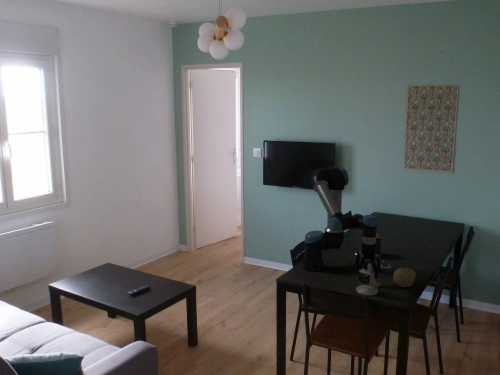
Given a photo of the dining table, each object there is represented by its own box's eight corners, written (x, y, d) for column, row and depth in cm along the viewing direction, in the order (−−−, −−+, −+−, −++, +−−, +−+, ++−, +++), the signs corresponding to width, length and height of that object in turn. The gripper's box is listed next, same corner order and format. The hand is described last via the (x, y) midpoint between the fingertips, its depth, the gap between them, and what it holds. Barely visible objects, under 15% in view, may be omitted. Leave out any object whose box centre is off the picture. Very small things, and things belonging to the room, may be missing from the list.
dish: (352, 292, 264) (352, 290, 264) (361, 285, 273) (362, 283, 273) (372, 297, 257) (372, 295, 257) (381, 290, 266) (381, 288, 266)
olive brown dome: (406, 291, 265) (407, 273, 263) (388, 284, 274) (389, 267, 272) (418, 286, 271) (419, 268, 269) (400, 279, 281) (401, 262, 279)
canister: (382, 258, 317) (383, 234, 313) (362, 258, 319) (363, 233, 315) (380, 252, 329) (381, 228, 326) (361, 251, 331) (362, 227, 328)
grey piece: (358, 282, 264) (359, 262, 262) (365, 279, 269) (365, 259, 267) (369, 286, 259) (370, 265, 257) (376, 282, 264) (377, 262, 262)
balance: (351, 282, 278) (352, 253, 275) (356, 278, 284) (357, 250, 280) (387, 291, 264) (388, 261, 261) (392, 287, 270) (393, 258, 266)
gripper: (349, 241, 263) (348, 279, 267) (383, 248, 250) (381, 288, 255) (355, 238, 269) (354, 275, 273) (389, 244, 256) (387, 284, 260)
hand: (367, 281), depth 264 cm, fingers closed on grey piece, 7 cm apart
